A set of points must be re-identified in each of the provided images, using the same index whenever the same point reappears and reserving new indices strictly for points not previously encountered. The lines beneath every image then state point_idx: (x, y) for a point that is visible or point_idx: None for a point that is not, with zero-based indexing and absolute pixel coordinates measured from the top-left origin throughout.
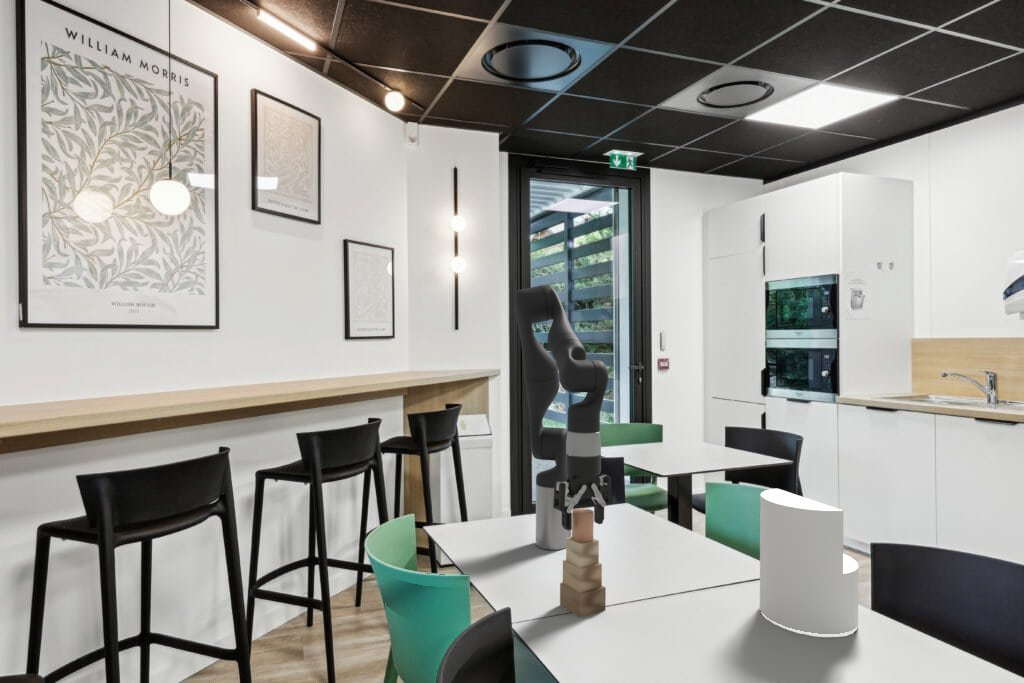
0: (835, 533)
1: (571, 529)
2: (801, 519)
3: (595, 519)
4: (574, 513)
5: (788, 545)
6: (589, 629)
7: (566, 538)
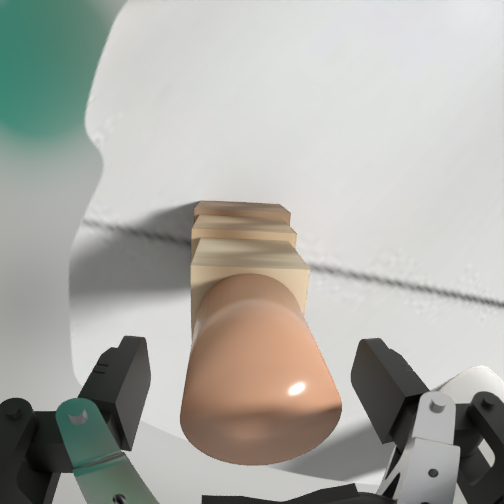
0: None
1: (150, 380)
2: None
3: (365, 354)
4: (180, 420)
5: (455, 501)
6: (184, 324)
7: (191, 265)
